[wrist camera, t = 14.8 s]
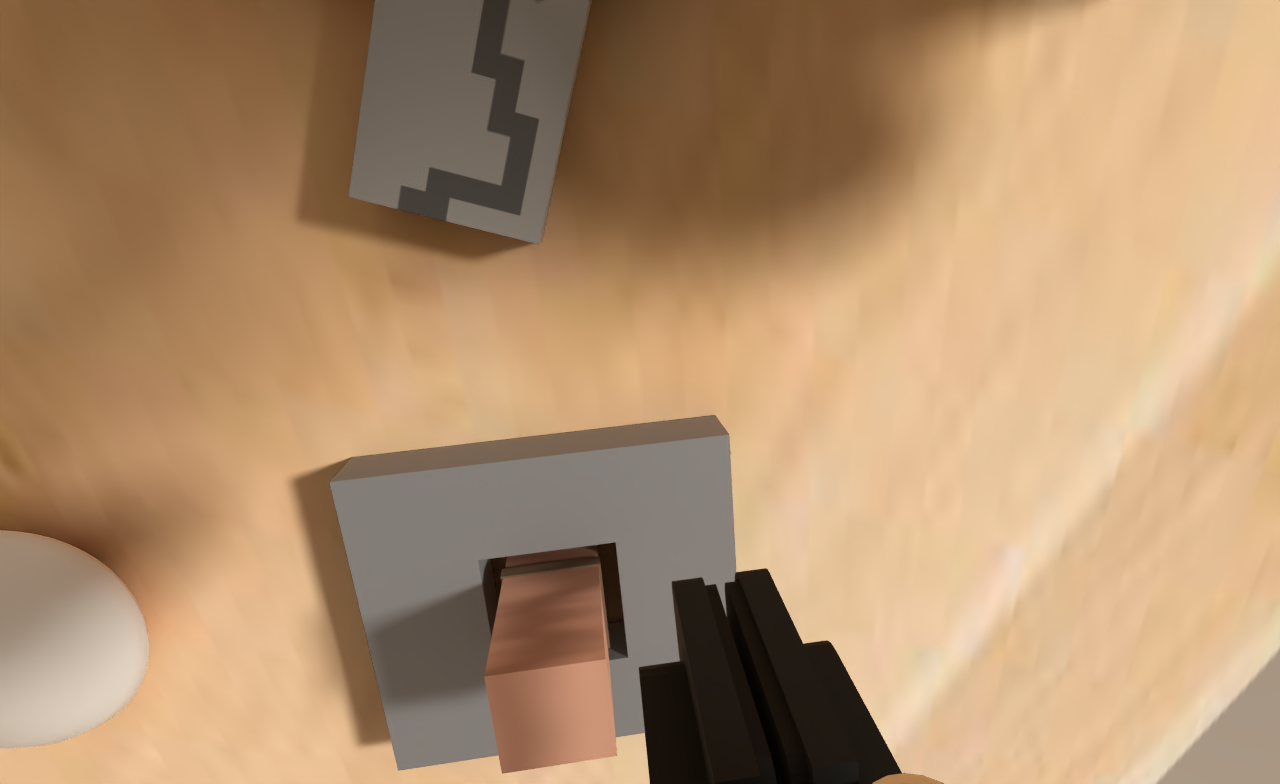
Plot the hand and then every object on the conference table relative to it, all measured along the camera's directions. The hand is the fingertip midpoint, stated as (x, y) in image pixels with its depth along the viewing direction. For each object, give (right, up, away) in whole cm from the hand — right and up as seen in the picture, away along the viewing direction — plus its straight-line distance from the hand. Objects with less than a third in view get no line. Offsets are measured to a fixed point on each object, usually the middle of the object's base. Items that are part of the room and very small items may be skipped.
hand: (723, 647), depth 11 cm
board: (-6, -5, +23) cm, 24 cm away
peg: (-6, -5, +23) cm, 24 cm away
